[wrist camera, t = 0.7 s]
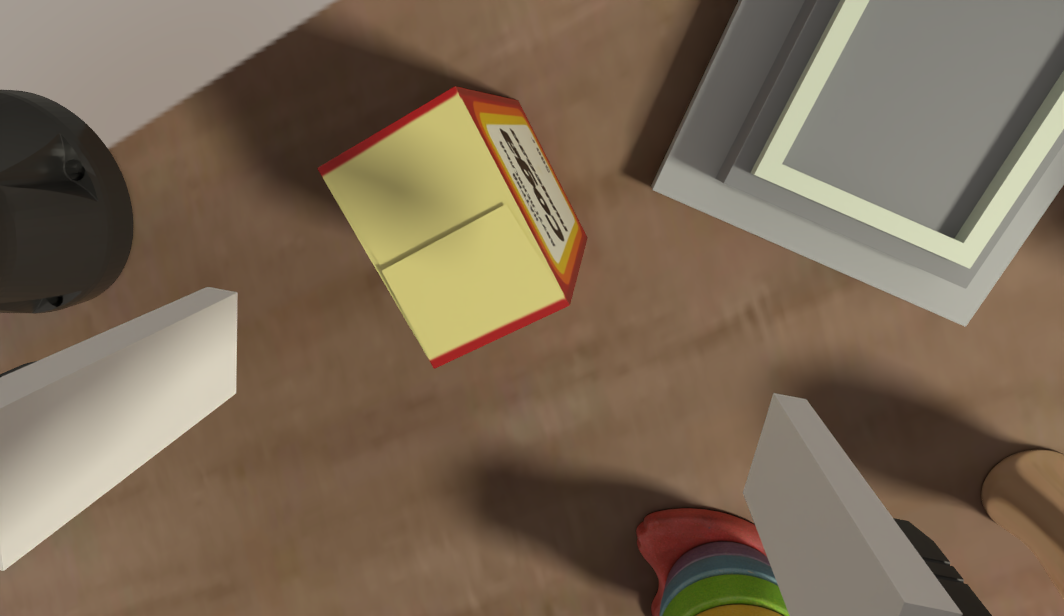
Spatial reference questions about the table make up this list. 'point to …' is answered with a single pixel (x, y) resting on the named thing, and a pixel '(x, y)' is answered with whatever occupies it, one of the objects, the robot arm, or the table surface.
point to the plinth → (882, 137)
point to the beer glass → (1031, 505)
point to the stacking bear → (708, 565)
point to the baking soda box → (461, 220)
